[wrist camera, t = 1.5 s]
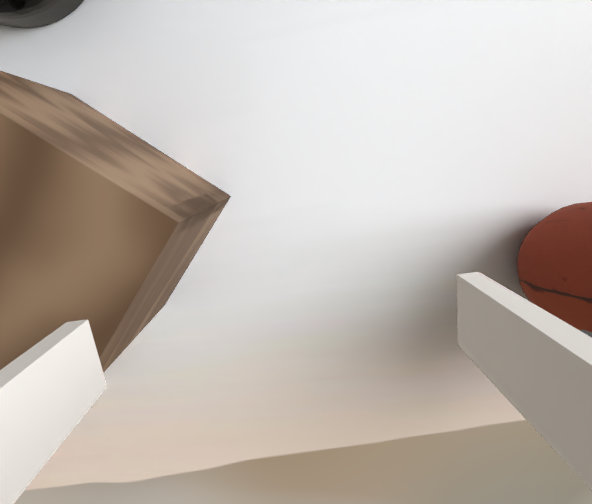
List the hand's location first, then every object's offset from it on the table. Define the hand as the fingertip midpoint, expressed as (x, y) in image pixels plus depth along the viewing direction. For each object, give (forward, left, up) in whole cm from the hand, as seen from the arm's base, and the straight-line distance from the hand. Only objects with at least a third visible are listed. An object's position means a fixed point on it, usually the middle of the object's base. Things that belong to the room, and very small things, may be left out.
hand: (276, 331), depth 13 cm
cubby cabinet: (-14, -7, -22) cm, 27 cm away
